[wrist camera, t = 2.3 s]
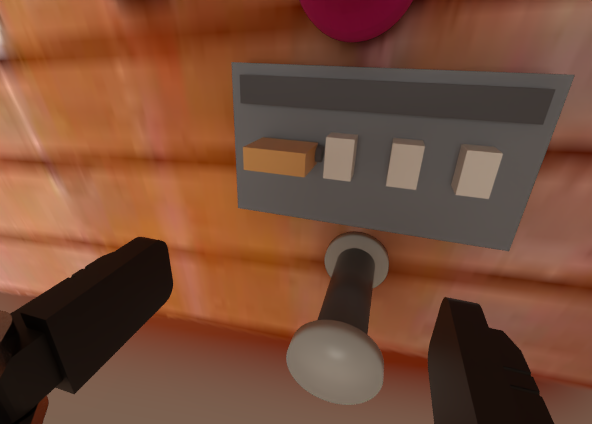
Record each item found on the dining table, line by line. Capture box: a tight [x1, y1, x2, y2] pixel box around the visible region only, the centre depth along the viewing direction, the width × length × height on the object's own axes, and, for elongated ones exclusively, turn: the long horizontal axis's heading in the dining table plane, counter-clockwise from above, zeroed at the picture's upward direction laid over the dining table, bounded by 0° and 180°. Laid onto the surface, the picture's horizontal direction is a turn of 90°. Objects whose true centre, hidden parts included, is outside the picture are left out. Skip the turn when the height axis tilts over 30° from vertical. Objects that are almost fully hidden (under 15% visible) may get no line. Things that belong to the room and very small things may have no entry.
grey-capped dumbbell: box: [286, 232, 389, 405], centre depth 25 cm, size 6×6×13 cm
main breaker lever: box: [243, 137, 324, 177], centre depth 23 cm, size 5×2×4 cm, turn 88°
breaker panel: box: [232, 62, 575, 251], centre depth 24 cm, size 22×12×5 cm, turn 88°
